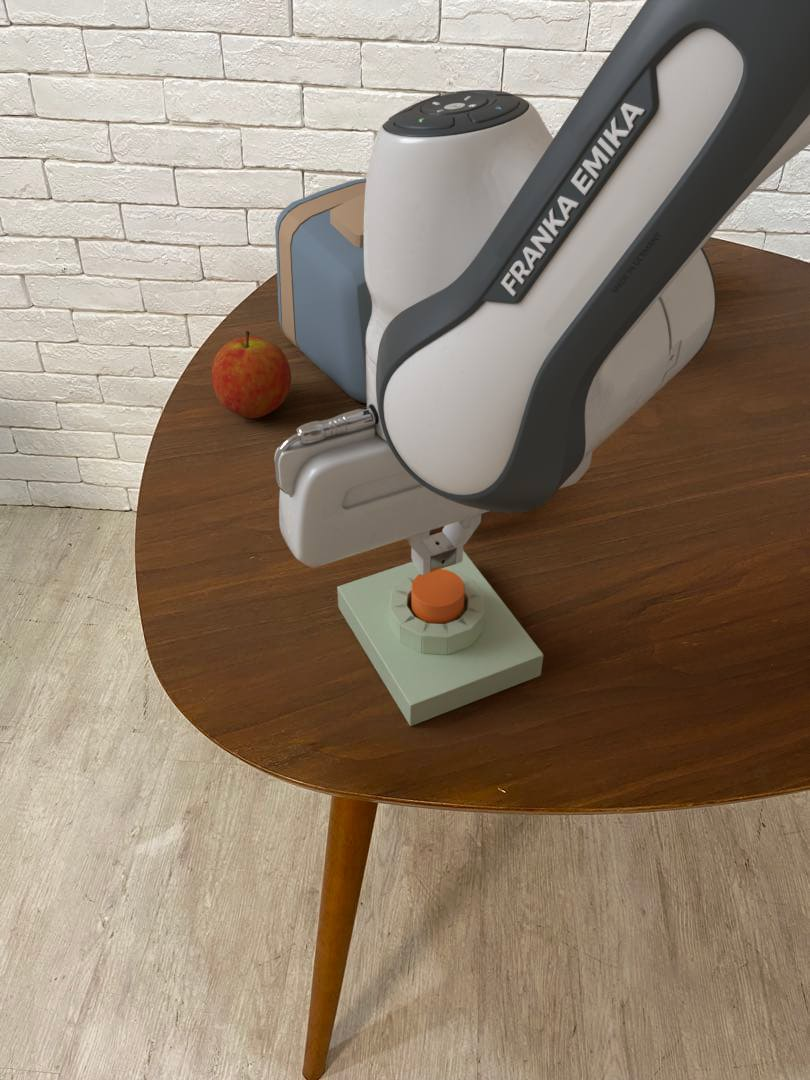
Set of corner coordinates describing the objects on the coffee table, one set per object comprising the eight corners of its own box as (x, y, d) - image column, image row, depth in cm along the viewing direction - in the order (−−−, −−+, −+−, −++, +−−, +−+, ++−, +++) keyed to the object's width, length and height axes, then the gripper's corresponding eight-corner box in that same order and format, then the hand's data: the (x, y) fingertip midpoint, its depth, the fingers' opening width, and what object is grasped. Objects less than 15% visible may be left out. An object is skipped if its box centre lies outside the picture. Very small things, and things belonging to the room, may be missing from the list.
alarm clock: (410, 291, 111) (411, 141, 100) (504, 363, 101) (516, 205, 90) (273, 336, 104) (258, 181, 93) (358, 417, 94) (353, 254, 83)
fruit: (279, 437, 92) (272, 359, 86) (204, 426, 93) (193, 349, 88) (303, 393, 97) (297, 317, 91) (232, 383, 98) (222, 307, 93)
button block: (541, 675, 72) (546, 636, 69) (410, 726, 69) (410, 687, 66) (458, 566, 80) (460, 527, 77) (337, 607, 77) (335, 568, 74)
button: (473, 614, 71) (474, 596, 70) (425, 631, 70) (426, 613, 69) (448, 580, 74) (449, 562, 72) (402, 596, 72) (402, 578, 71)
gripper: (293, 468, 54) (308, 646, 64) (622, 373, 61) (591, 547, 70) (252, 404, 58) (271, 580, 68) (563, 322, 65) (542, 493, 75)
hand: (436, 563), depth 69 cm, fingers closed
